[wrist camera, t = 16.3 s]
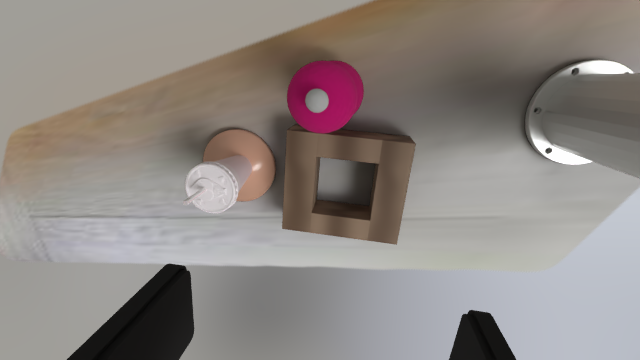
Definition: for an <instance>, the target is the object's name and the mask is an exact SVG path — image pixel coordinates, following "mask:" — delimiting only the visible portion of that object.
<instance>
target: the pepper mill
mask: <svg viewBox="0 0 640 360" xmlns="http://www.w3.org/2000/svg"><path fill="white" fill-rule="evenodd" d="M363 92H364V89H363V83H362V80H361V78H360V76H359V74H358V73H357V71H356V70H355V69H354V68H353V67H352V66H350V65H348V64H347V63H344V62H342V61H315V62H312V63H309V64H307V65H305V66H304V67H302V68H301V69H300V70H298V71H297V72H296V74H295V75H294V76H293V78H292V80H291V82H290V84H289V87H288V93H287V102H288V107H289V110H290V113H291V115H292V116H293V118H294V119H295V120H296V122H297V123H298V124H299V125H300V126H302V127H303V128H305V129H306V130H309V131H311V132H315V133H330V132H333V131H336V130H338V129H340V128H341V127H343V126H344V125H345V124H346V123H347V122H348V121H349V120H350V119H351V117H352V115H353V114H354V113H355V112H356V111H357V110H358V109H359V107H360V105H361V102H362V99H363Z"/></svg>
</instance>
